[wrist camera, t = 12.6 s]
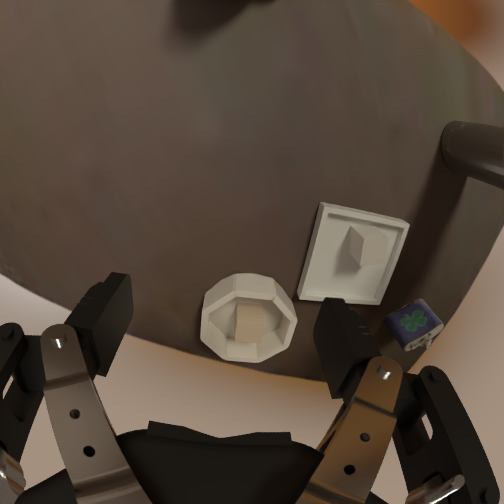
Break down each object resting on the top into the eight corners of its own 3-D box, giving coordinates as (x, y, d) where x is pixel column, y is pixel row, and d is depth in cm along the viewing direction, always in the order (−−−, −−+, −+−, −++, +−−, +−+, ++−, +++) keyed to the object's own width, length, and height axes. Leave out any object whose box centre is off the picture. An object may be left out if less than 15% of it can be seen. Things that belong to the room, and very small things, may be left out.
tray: (402, 219, 40) (409, 224, 38) (374, 298, 46) (379, 305, 44) (320, 201, 38) (324, 206, 36) (296, 291, 44) (299, 299, 42)
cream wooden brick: (262, 304, 44) (264, 324, 39) (258, 323, 45) (260, 343, 41) (237, 302, 43) (237, 321, 39) (234, 321, 45) (234, 341, 40)
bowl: (297, 278, 43) (304, 297, 38) (278, 342, 49) (282, 364, 44) (207, 267, 41) (204, 286, 37) (202, 335, 47) (199, 357, 42)
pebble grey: (373, 225, 39) (389, 238, 34) (370, 249, 40) (384, 264, 36) (350, 225, 39) (364, 238, 34) (347, 250, 40) (359, 265, 36)
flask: (421, 294, 46) (449, 327, 37) (422, 304, 48) (448, 337, 38) (383, 316, 48) (406, 353, 38) (385, 325, 49) (407, 362, 39)
